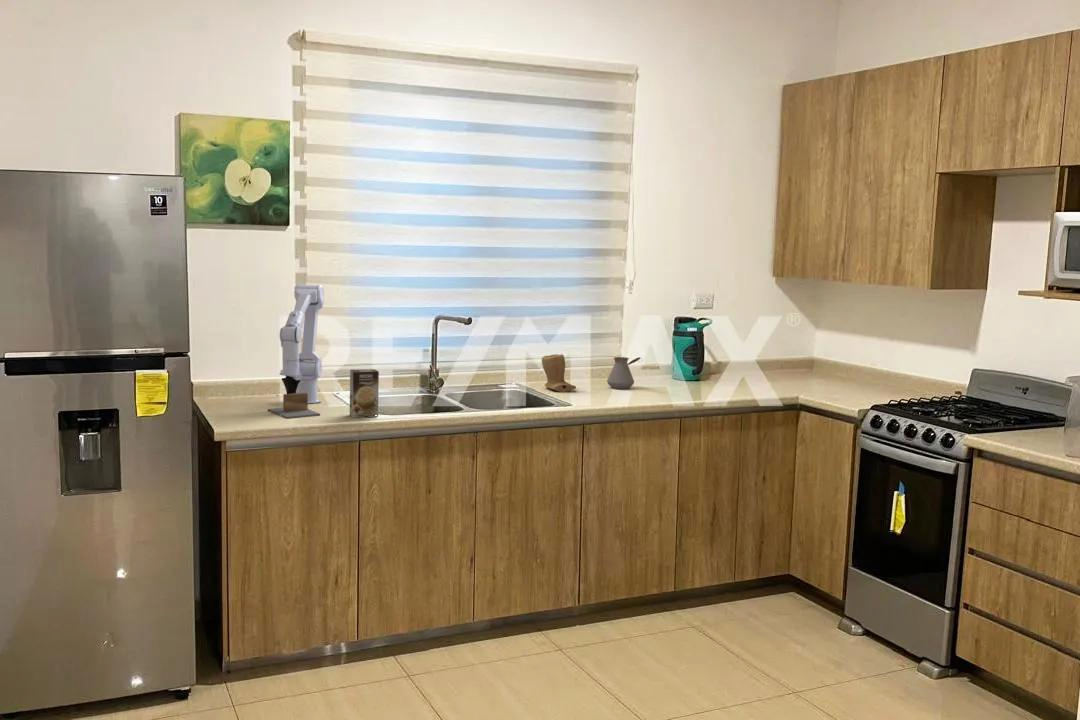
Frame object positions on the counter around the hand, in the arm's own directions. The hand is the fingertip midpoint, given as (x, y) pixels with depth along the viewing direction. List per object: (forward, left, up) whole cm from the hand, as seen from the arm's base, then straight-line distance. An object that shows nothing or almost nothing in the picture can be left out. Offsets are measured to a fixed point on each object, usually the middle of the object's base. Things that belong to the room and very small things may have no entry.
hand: (291, 397), depth 358 cm
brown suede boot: (+9, +112, -5) cm, 113 cm away
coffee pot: (+23, +138, -5) cm, 140 cm away
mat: (+4, -1, -5) cm, 6 cm away
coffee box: (+21, +18, -5) cm, 28 cm away
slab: (+3, 0, -4) cm, 5 cm away
